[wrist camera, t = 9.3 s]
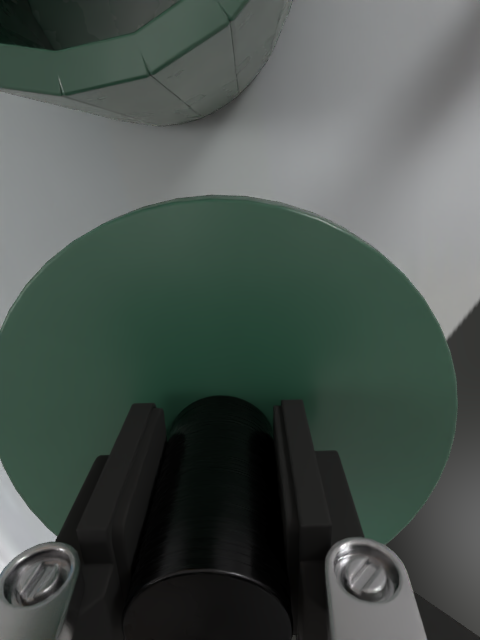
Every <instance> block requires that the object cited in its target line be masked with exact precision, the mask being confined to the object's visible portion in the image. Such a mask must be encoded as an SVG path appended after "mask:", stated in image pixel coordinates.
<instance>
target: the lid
mask: <svg viewBox="0 0 480 640" xmlns="http://www.w3.org/2000/svg"><path fill="white" fill-rule="evenodd" d="M295 399H302V400H303V403H304V408H305V412H306V416H307V420H308V425H309V429H310V433H311V437H312V442H313V446H314V450H315V451H326V450H336V451H337V452H338V454H339V456H340V459H341V463H342V466H343V469H344V472H345V476H346V479H347V482H348V485H349V488H350V492H351V495H352V498H353V501H354V504H355V508H356V511H357V514H358V517H359V520H360V524H361V527H362V530H363V533H364V536H365V538H370V539H373V540H375V541H377V542H380V543H382V544H384V545H386V544H387V543H388V542H389V541H391V540H392V539H393V538H394V537H395V536H396V535H397V534H398V533H399V532H400V531H401V530H402V529H403V528H404V527H405V526H406V525H408V523H410V522H411V520H412V519H413V518H414V516H415V515H416V514H417V513H418V512H419V510H420V509H421V508H422V507H423V505H424V504H425V503H426V501H427V500H428V498H429V496H430V495H431V493H432V491H433V490H434V488H435V486H436V485H437V483H438V481H439V479H440V477H441V474H442V472H443V470H444V467H445V465H446V463H447V460H448V458H449V454H450V451H451V447H452V443H453V439H454V435H455V429H456V420H457V410H458V402H457V383H456V375H455V371H454V366H453V362H452V358H451V352H450V350H449V348H448V345H447V342H446V339H445V337H444V334H443V332H442V329H441V327H440V324H439V323H438V321H437V319H436V318H435V316H434V314H433V312H432V311H431V309H430V307H429V306H428V304H427V302H426V301H425V299H424V298H423V296H422V295H421V294H420V293H419V292H418V290H417V289H416V288H415V287H414V285H413V284H412V283H411V282H410V281H409V279H408V278H407V277H406V276H405V274H404V273H402V272H401V271H400V270H399V269H398V268H397V267H396V266H395V265H394V264H392V263H391V262H390V261H389V260H388V259H387V258H386V257H385V256H384V255H382V254H381V253H380V252H379V251H378V250H376V249H375V248H374V247H372V246H371V245H369V244H368V243H366V242H365V241H363V240H362V239H360V238H359V237H357V236H356V235H354V234H353V233H351V232H350V231H348V230H347V229H345V228H344V227H342V226H340V225H338V224H336V223H334V222H332V221H330V220H328V219H325V218H323V217H321V216H319V215H317V214H315V213H313V212H310V211H307V210H304V209H300V208H297V207H294V206H291V205H288V204H285V203H282V202H277V201H271V200H265V199H260V198H254V197H248V196H227V195H206V196H196V197H186V198H177V199H173V200H168V201H164V202H160V203H156V204H152V205H148V206H144V207H141V208H139V209H136V210H134V211H131V212H129V213H126V214H124V215H121V216H119V217H116V218H114V219H112V220H110V221H108V222H106V223H104V224H102V225H100V226H98V227H97V228H95V229H93V230H91V231H90V232H88V233H86V234H85V235H83V236H81V237H79V238H78V239H76V240H74V241H72V242H71V243H70V244H69V245H67V246H66V247H65V248H64V249H62V250H61V251H60V252H59V253H57V254H56V255H55V256H54V257H52V258H51V259H50V260H49V261H47V262H46V263H45V265H44V266H43V267H42V268H41V269H40V270H39V271H38V272H37V273H36V274H35V276H34V277H33V278H32V279H31V280H30V281H29V282H28V283H27V284H26V285H25V287H24V288H23V290H22V291H21V293H20V295H19V296H18V298H17V299H16V301H15V302H14V304H13V305H12V307H11V308H10V310H9V312H8V314H7V316H6V318H5V321H4V323H3V325H2V327H1V330H0V459H1V461H2V464H3V467H4V469H5V470H6V472H7V474H8V476H9V478H10V480H11V482H12V483H13V485H14V487H15V489H16V490H17V492H18V493H19V494H20V496H21V497H22V499H23V500H24V501H25V503H26V504H27V506H28V507H29V508H30V510H31V511H32V512H33V513H34V514H35V515H36V516H37V517H38V518H39V519H40V520H41V521H42V523H43V524H44V525H45V526H46V527H47V528H48V529H49V530H50V531H52V532H53V533H54V534H55V535H56V536H57V537H58V535H59V533H60V530H61V528H62V526H63V524H64V522H65V520H66V518H67V516H68V514H69V512H70V510H71V508H72V506H73V504H74V502H75V500H76V498H77V496H78V494H79V492H80V489H81V487H82V485H83V483H84V481H85V479H86V477H87V475H88V473H89V471H90V469H91V467H92V465H93V463H94V461H95V459H96V458H97V457H98V456H99V455H110V453H111V450H112V448H113V446H114V444H115V441H116V439H117V437H118V435H119V432H120V430H121V428H122V426H123V424H124V421H125V419H126V417H127V415H128V412H129V410H130V408H131V406H132V404H133V403H155V404H156V408H163V411H164V417H165V426H166V435H167V447H166V451H165V455H164V458H163V462H162V466H161V470H160V473H159V477H158V481H157V485H156V489H155V492H154V496H153V500H152V504H151V507H150V511H149V515H148V519H147V523H146V526H145V530H144V534H143V538H142V541H141V545H140V549H139V553H138V557H137V560H136V564H135V568H134V572H133V575H132V579H131V583H130V587H129V591H128V594H127V598H126V602H125V606H124V609H123V613H122V620H121V625H122V633H123V637H124V640H291V639H292V635H293V617H292V607H291V598H290V588H289V580H288V577H287V571H286V561H285V551H284V541H283V531H282V521H281V511H280V501H279V491H278V481H277V471H276V461H275V451H274V441H273V406H277V405H281V400H295Z"/></svg>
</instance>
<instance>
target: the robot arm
mask: <svg viewBox="0 0 480 640" xmlns="http://www.w3.org/2000/svg"><path fill="white" fill-rule="evenodd" d="M273 441H274V451H275V461H276V471H277V481H278V491H279V501H280V511H281V521H282V531H283V541H284V551H285V561H286V571H287V577H288V580H289V588H290V598H291V607H292V617H293V635H296V640H480V637H479V636H477V635H476V634H474V633H473V632H471V631H470V630H468V629H467V628H466V627H464V626H463V625H461V624H460V623H458V622H457V621H456V620H454V619H453V618H451V617H450V616H448V615H447V614H445V613H444V612H442V611H441V610H439V609H438V608H437V607H435V606H434V605H432V604H431V603H429V602H428V601H426V600H425V599H424V598H422V597H421V596H419V595H418V594H416V593H415V592H414V591H413V590H412V586H411V583H410V580H409V576H408V573H407V571H406V569H405V567H404V564H403V562H402V561H401V560H400V559H399V557H398V556H397V555H396V554H395V553H394V552H393V551H392V550H391V549H389V548H388V547H387V546H385V545H384V544H382V543H380V542H377V541H375V540H373V539H370V538H365V536H364V533H363V530H362V527H361V524H360V520H359V517H358V514H357V511H356V508H355V504H354V501H353V498H352V495H351V492H350V488H349V485H348V482H347V479H346V476H345V472H344V469H343V466H342V463H341V459H340V456H339V454H338V452H337V451H336V450H326V451H315V450H314V446H313V442H312V437H311V433H310V429H309V425H308V420H307V416H306V412H305V408H304V403H303V400H302V399H295V400H281V405H277V406H273ZM166 447H167V435H166V426H165V417H164V411H163V408H156V404H155V403H133V404H132V406H131V408H130V410H129V412H128V415H127V417H126V419H125V421H124V424H123V426H122V428H121V430H120V432H119V435H118V437H117V439H116V441H115V444H114V446H113V448H112V450H111V453H110V455H99V456H98V457H97V458H96V459H95V461H94V463H93V465H92V467H91V469H90V471H89V473H88V475H87V477H86V479H85V481H84V483H83V485H82V487H81V489H80V492H79V494H78V496H77V498H76V500H75V502H74V504H73V506H72V508H71V510H70V512H69V514H68V516H67V518H66V520H65V522H64V524H63V526H62V528H61V530H60V533H59V535H58V537H57V539H56V541H55V542H47V543H42V544H38V545H36V546H34V547H31V548H29V549H27V550H25V551H24V552H22V553H21V554H19V555H18V556H16V557H15V558H14V559H13V560H12V561H11V562H10V563H9V564H8V565H7V566H6V567H5V568H4V569H3V571H2V572H1V574H0V640H124V637H123V633H122V625H121V620H122V613H123V609H124V606H125V602H126V598H127V594H128V591H129V587H130V583H131V579H132V575H133V572H134V568H135V564H136V560H137V557H138V553H139V549H140V545H141V541H142V538H143V534H144V530H145V526H146V523H147V519H148V515H149V511H150V507H151V504H152V500H153V496H154V492H155V489H156V485H157V481H158V477H159V473H160V470H161V466H162V462H163V458H164V455H165V451H166Z"/></svg>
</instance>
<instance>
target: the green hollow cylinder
mask: <svg viewBox="0 0 480 640" xmlns="http://www.w3.org/2000/svg"><path fill="white" fill-rule="evenodd" d="M292 1H293V0H0V91H1V92H5V93H9V94H13V95H17V96H21V97H25V98H29V99H33V100H37V101H41V102H46V103H50V104H54V105H58V106H62V107H66V108H70V109H74V110H78V111H82V112H86V113H90V114H94V115H98V116H102V117H107V118H111V119H115V120H119V121H124V122H131V123H139V124H144V125H154V126H167V125H174V124H182V123H185V122H189V121H193V120H197V119H199V118H202V117H205V116H206V115H209V114H211V113H213V112H215V111H216V110H218V109H220V108H221V107H223V106H225V105H226V104H228V103H229V102H230V101H231V100H233V99H234V98H235V97H237V96H238V95H239V94H240V93H241V92H242V91H243V90H244V89H245V88H246V87H247V86H248V85H249V84H250V83H251V82H252V81H253V80H254V78H255V77H256V75H257V74H258V73H259V71H260V70H261V69H262V67H263V66H264V65H265V63H266V62H267V61H268V58H269V57H270V56H271V53H272V51H273V49H274V47H275V45H276V42H277V40H278V37H279V35H280V32H281V30H282V28H283V25H284V23H285V20H286V18H287V16H288V13H289V10H290V7H291V4H292Z"/></svg>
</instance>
